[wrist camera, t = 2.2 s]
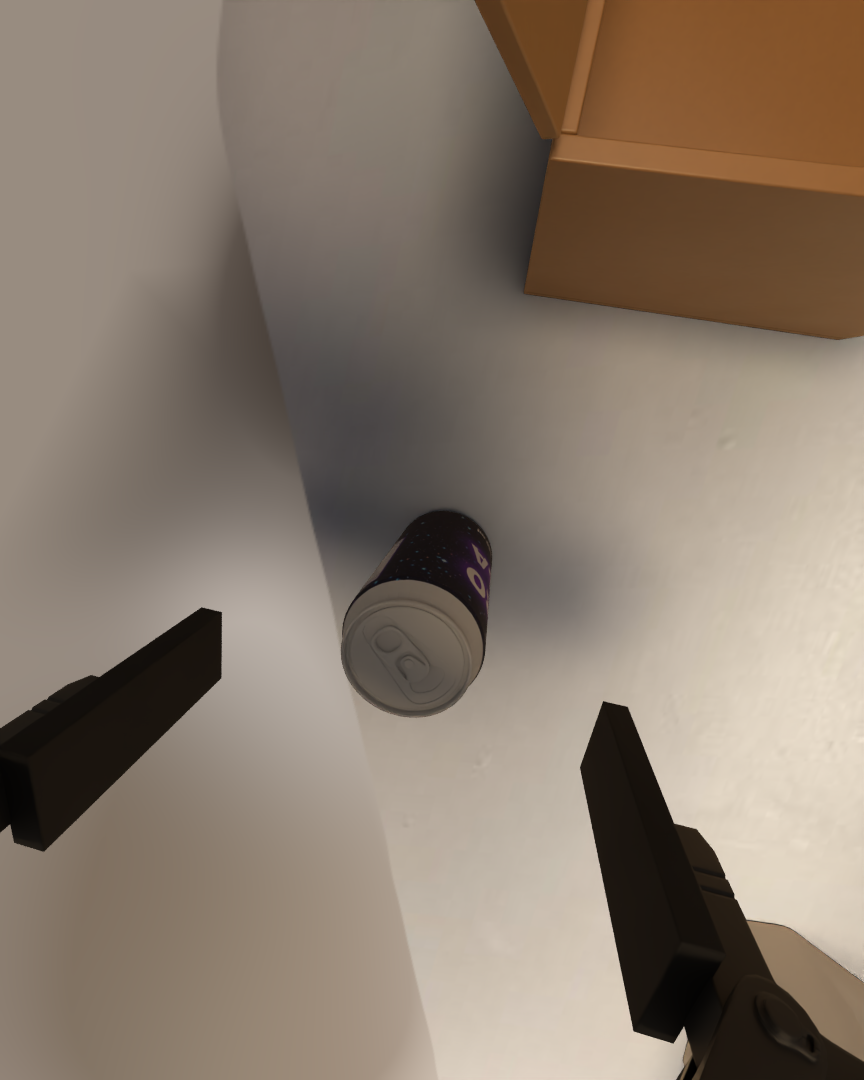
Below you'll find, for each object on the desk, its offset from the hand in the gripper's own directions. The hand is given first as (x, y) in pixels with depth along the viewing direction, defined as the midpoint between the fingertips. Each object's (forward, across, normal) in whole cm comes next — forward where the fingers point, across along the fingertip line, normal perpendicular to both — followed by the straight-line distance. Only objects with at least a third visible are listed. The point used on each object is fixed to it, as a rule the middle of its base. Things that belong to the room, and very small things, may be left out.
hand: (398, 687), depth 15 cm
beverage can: (+13, 0, 0) cm, 13 cm away
